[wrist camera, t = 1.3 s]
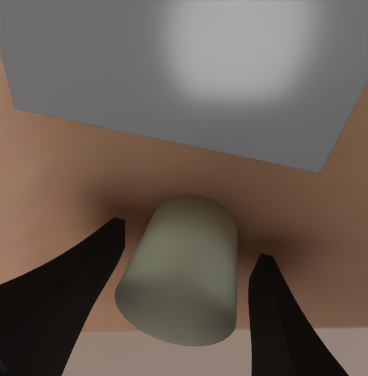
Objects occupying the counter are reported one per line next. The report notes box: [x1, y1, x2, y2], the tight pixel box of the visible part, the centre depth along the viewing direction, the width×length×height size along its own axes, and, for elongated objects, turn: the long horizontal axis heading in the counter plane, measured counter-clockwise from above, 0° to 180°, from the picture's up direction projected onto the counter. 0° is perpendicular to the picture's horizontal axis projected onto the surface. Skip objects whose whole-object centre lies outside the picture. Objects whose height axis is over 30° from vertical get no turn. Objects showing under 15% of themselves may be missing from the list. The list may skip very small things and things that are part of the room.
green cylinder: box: [115, 195, 238, 346], centre depth 12 cm, size 5×5×5 cm
